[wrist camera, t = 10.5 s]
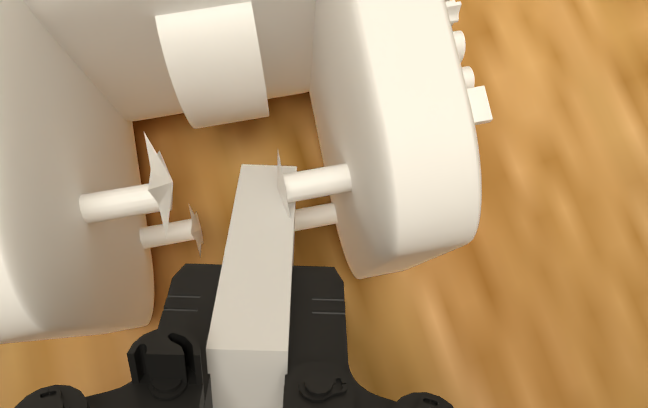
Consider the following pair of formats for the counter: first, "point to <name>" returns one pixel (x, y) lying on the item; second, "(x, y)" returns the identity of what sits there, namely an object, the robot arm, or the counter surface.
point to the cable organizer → (215, 109)
